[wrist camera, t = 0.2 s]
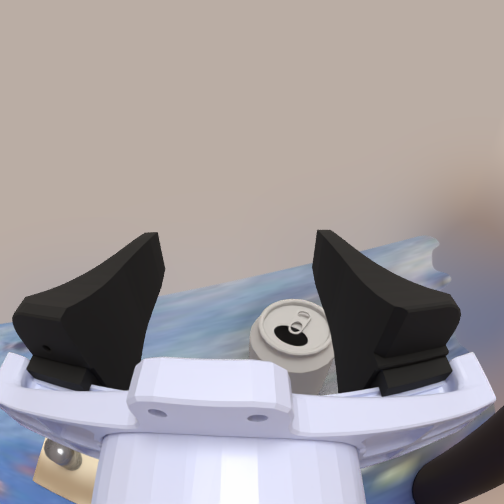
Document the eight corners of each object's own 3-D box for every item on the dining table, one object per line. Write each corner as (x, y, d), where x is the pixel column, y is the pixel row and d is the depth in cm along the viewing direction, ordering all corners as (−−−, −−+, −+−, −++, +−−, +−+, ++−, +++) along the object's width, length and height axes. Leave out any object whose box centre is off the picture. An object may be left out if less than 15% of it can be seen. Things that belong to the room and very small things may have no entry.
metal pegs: (168, 501, 16) (159, 497, 14) (52, 462, 16) (37, 453, 14) (185, 391, 27) (180, 377, 25) (84, 373, 27) (75, 358, 25)
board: (188, 535, 13) (187, 535, 13) (35, 482, 13) (32, 480, 13) (203, 399, 27) (202, 397, 26) (73, 375, 27) (71, 373, 26)
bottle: (421, 454, 19) (550, 325, 8) (464, 463, 16) (592, 344, 5) (402, 507, 14) (568, 410, 4) (450, 514, 11) (608, 416, 1)
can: (233, 402, 27) (230, 330, 20) (270, 359, 32) (280, 281, 26) (294, 435, 23) (320, 376, 17) (325, 385, 29) (355, 312, 22)
